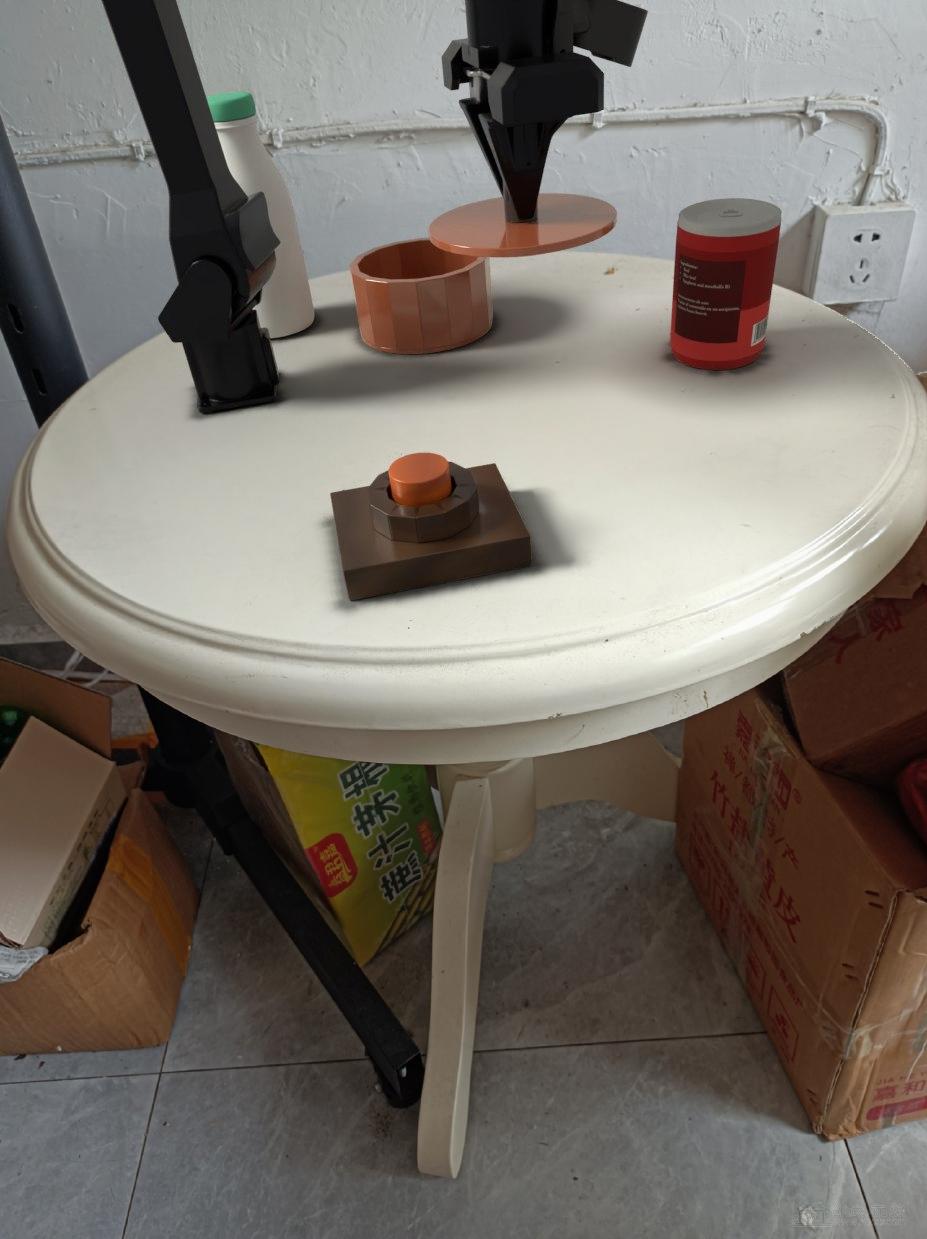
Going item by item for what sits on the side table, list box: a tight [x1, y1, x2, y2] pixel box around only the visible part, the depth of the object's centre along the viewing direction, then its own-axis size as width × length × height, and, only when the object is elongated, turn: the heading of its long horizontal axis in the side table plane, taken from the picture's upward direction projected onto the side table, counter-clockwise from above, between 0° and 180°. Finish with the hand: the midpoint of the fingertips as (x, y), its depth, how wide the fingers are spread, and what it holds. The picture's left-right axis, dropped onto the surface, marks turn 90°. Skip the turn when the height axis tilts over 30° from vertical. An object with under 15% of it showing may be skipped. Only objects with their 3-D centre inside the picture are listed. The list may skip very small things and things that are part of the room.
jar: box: [348, 237, 494, 355], centre depth 80 cm, size 13×13×6 cm
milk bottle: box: [206, 91, 316, 339], centre depth 80 cm, size 8×8×20 cm
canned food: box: [669, 197, 782, 371], centre depth 69 cm, size 8×8×11 cm
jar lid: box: [427, 182, 618, 258], centre depth 61 cm, size 14×14×5 cm
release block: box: [329, 461, 533, 601], centre depth 53 cm, size 11×9×4 cm
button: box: [387, 452, 452, 507], centre depth 51 cm, size 4×4×2 cm
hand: (520, 214), depth 62 cm, fingers closed on jar lid, 2 cm apart
